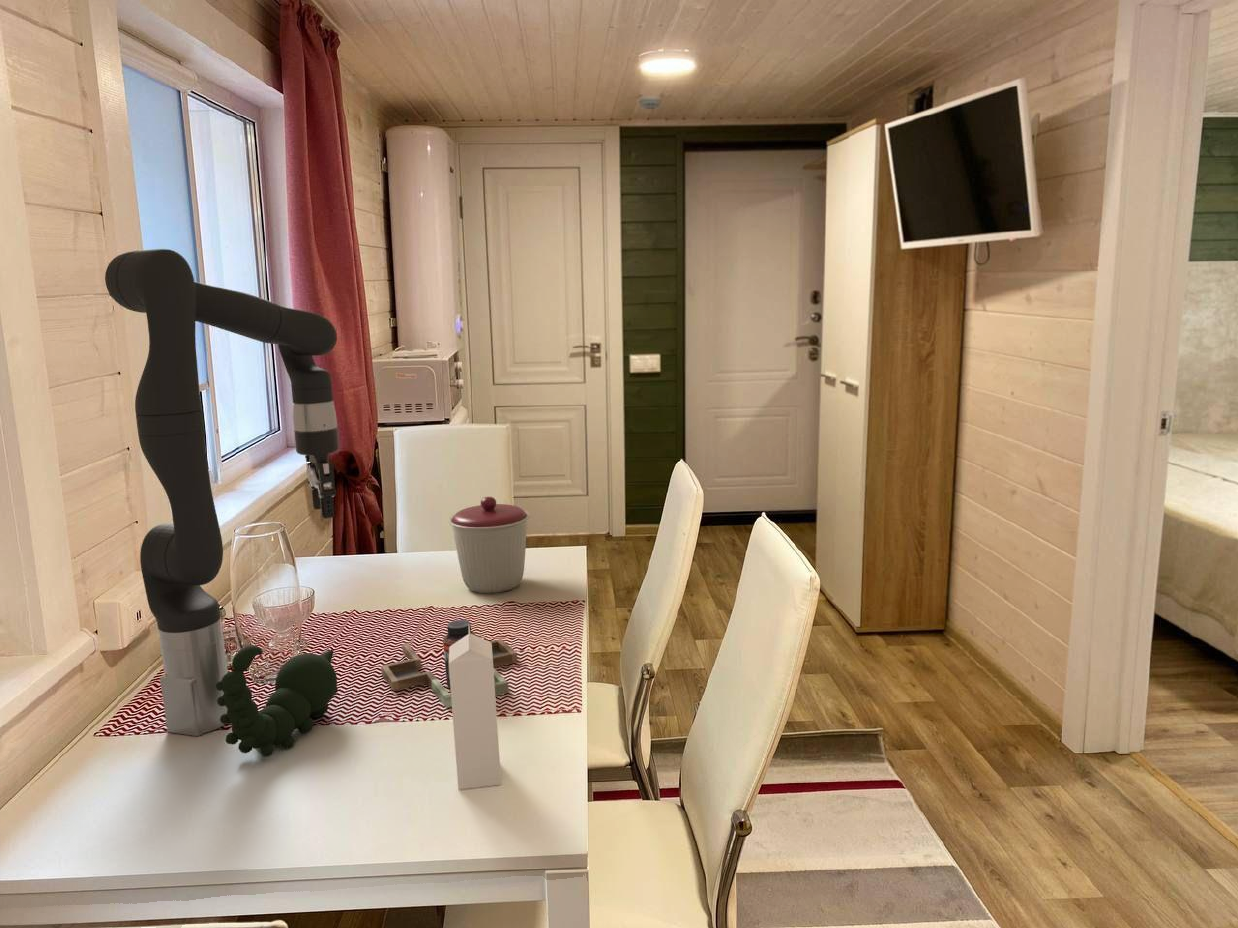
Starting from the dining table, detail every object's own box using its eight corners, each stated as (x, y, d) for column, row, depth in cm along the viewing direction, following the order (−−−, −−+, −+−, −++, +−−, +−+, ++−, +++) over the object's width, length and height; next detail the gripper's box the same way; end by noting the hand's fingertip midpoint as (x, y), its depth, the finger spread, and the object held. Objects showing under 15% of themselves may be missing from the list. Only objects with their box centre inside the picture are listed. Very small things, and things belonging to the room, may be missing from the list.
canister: (543, 591, 209) (538, 500, 205) (463, 604, 203) (456, 511, 199) (521, 569, 226) (516, 484, 221) (446, 580, 219) (440, 493, 215)
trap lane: (371, 659, 175) (370, 650, 175) (487, 634, 186) (486, 625, 185) (410, 716, 152) (409, 706, 152) (541, 683, 162) (540, 674, 162)
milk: (499, 763, 136) (491, 621, 132) (501, 785, 131) (492, 636, 126) (457, 768, 136) (447, 624, 131) (457, 790, 130) (446, 640, 125)
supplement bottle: (484, 677, 166) (480, 617, 164) (476, 692, 160) (471, 629, 158) (451, 677, 167) (447, 617, 164) (442, 691, 161) (437, 629, 158)
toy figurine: (270, 785, 136) (363, 696, 159) (247, 669, 131) (347, 594, 153) (217, 777, 139) (316, 690, 162) (192, 663, 133) (298, 590, 156)
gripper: (344, 429, 166) (352, 517, 169) (329, 420, 178) (336, 502, 181) (300, 433, 163) (309, 523, 166) (287, 424, 175) (296, 508, 178)
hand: (323, 512), depth 174 cm, fingers open, 8 cm apart
